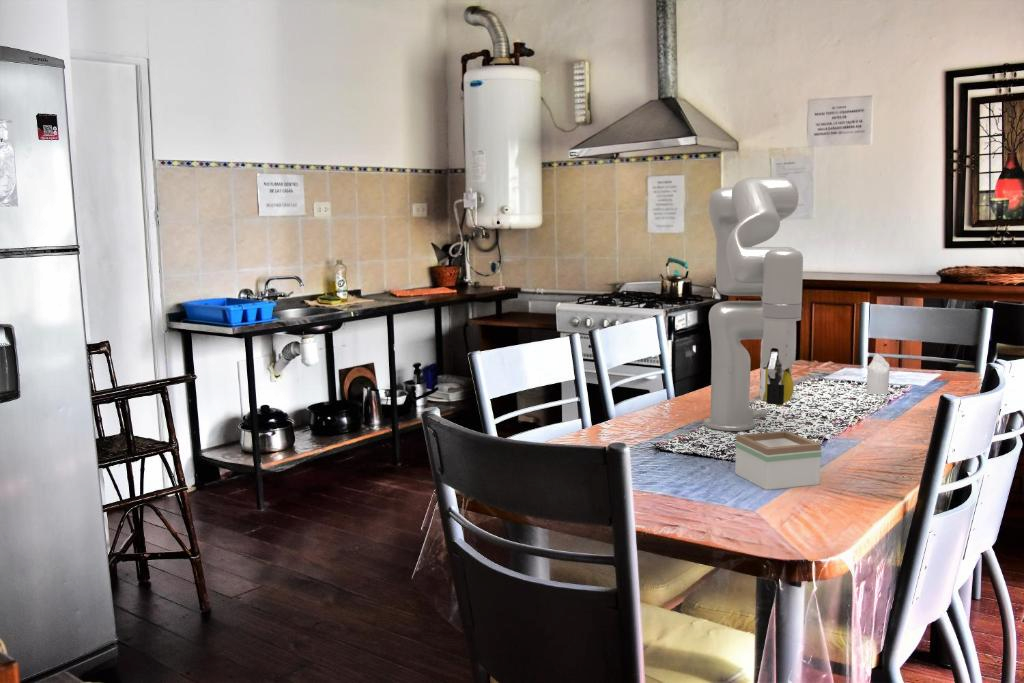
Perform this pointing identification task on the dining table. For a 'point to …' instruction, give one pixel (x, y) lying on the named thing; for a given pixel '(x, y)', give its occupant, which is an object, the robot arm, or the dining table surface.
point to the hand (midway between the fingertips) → (778, 400)
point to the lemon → (785, 386)
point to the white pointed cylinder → (878, 376)
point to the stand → (777, 460)
